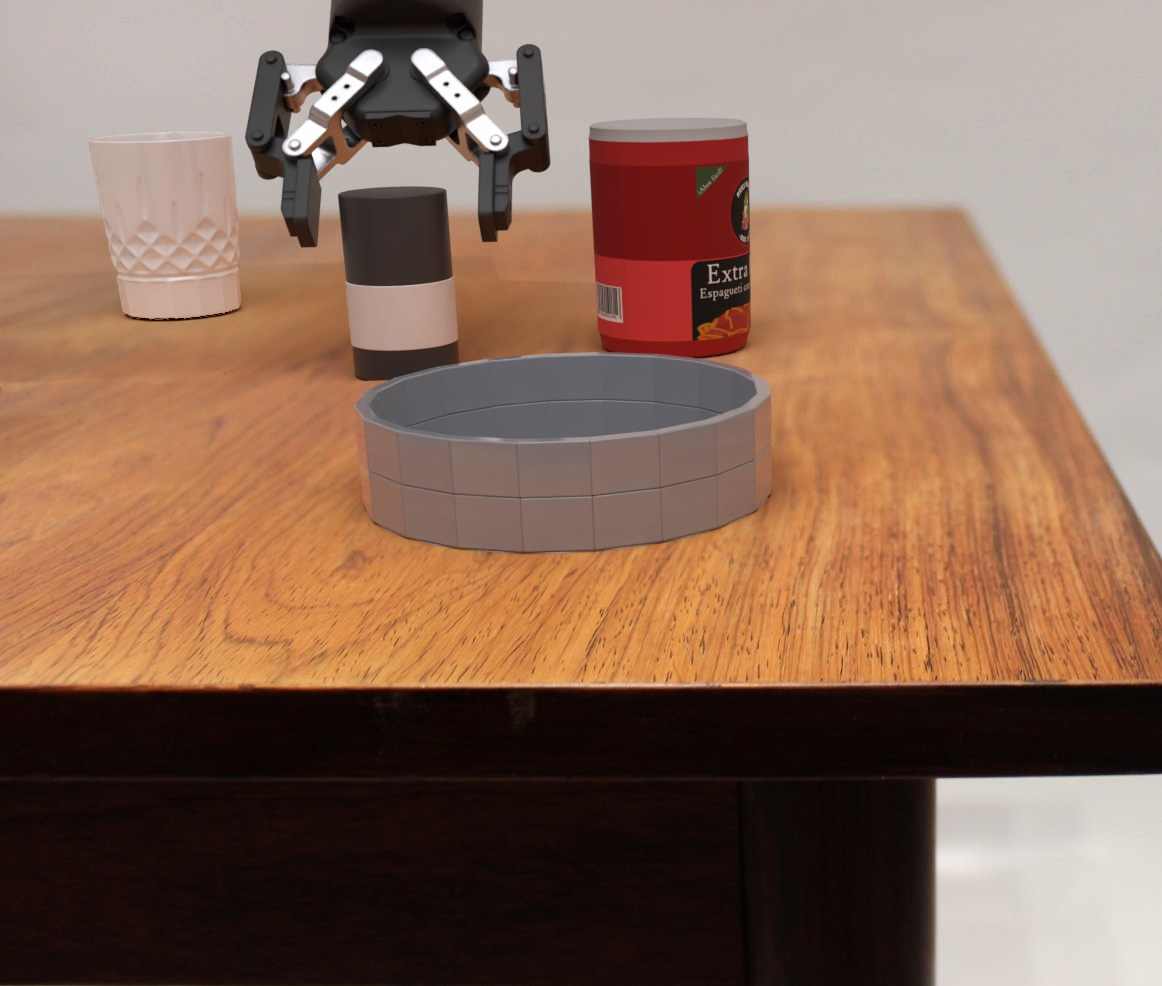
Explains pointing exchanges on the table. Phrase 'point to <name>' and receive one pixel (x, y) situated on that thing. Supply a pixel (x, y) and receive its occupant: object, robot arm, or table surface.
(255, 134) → the robot arm
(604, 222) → the canned food
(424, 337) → the container
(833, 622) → the table surface
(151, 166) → the white cup
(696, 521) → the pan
